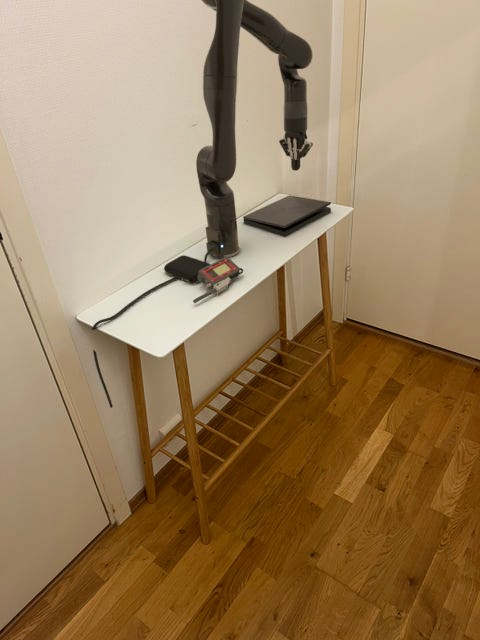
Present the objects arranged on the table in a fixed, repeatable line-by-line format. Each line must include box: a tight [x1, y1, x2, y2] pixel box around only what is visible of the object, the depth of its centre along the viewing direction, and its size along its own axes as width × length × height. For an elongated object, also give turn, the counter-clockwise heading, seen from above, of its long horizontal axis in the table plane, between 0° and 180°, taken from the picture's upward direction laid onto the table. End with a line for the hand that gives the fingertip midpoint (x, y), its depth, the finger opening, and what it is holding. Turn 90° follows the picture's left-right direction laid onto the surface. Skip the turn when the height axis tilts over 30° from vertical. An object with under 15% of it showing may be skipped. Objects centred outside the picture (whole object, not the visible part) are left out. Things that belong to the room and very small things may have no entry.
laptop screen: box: [242, 194, 332, 228], centre depth 165 cm, size 20×26×1 cm
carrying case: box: [163, 255, 211, 284], centre depth 137 cm, size 11×3×15 cm
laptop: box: [243, 206, 332, 238], centre depth 166 cm, size 20×26×2 cm
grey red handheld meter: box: [192, 257, 244, 304], centre depth 128 cm, size 9×4×20 cm
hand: (295, 169), depth 153 cm, fingers closed
